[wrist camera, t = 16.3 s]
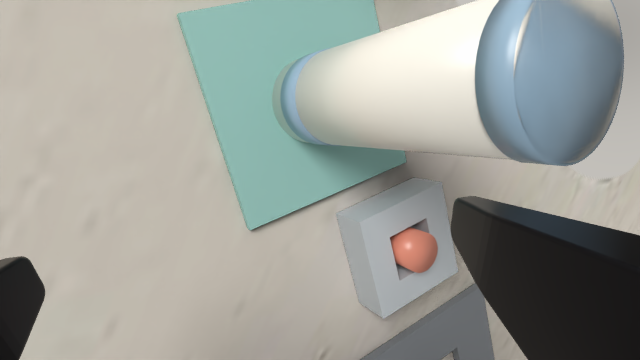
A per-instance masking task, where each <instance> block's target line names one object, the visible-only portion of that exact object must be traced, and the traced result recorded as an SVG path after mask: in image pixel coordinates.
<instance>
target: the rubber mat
mask: <svg viewBox="0 0 640 360" xmlns="http://www.w3.org/2000/svg"><path fill="white" fill-rule="evenodd" d="M177 17H178V20H179V23H180V26H181V29H182V32H183V35H184V38H185V41H186V44H187V47H188V50H189V53H190V56H191V59H192V62H193V65H194V68H195V71H196V75H197V78H198V81H199V84H200V87H201V90H202V93H203V96H204V99H205V102H206V105H207V108H208V111H209V114H210V117H211V120H212V123H213V126H214V129H215V132H216V135H217V138H218V141H219V144H220V147H221V150H222V153H223V156H224V159H225V162H226V165H227V168H228V171H229V174H230V177H231V180H232V183H233V186H234V189H235V192H236V195H237V198H238V201H239V204H240V207H241V210H242V213H243V216H244V219H245V222H246V225H247V228H248V229H249V230H252V229H254V228H257V227H259V226H261V225H263V224H266V223H268V222H270V221H273V220H275V219H277V218H279V217H282V216H284V215H286V214H289V213H291V212H293V211H295V210H298V209H300V208H302V207H305V206H307V205H309V204H312V203H314V202H316V201H318V200H321V199H323V198H325V197H328V196H330V195H332V194H334V193H337V192H339V191H341V190H344V189H346V188H348V187H350V186H353V185H355V184H357V183H360V182H362V181H364V180H367V179H369V178H371V177H373V176H376V175H378V174H380V173H383V172H385V171H387V170H389V169H392V168H394V167H396V166H399V165H401V164H403V163H405V162H406V157H405V152H404V151H402V150H390V149H378V148H366V147H354V146H329V145H318V144H312V143H306V142H301V141H298V140H296V139H294V138H292V137H291V136H290V135H288V134H287V133H286V132H285V131H284V130H283V129H282V127H281V126H280V125H279V123H278V121H277V119H276V117H275V114H274V110H273V105H272V92H273V87H274V84H275V81H276V79H277V77H278V75H279V73H280V72H281V71H282V70H283V68H284V67H285V66H287V65H288V64H289V63H291V62H292V61H294V60H297V59H299V58H302V57H303V56H306V55H308V54H311V53H314V52H317V51H320V50H323V49H327V48H333V47H336V46H339V45H342V44H345V43H348V42H351V41H355V40H358V39H361V38H364V37H367V36H370V35H373V34H376V33H379V32H380V30H379V25H378V20H377V16H376V11H375V6H374V1H373V0H251V1H246V2H240V3H234V4H228V5H223V6H217V7H211V8H206V9H200V10H194V11H189V12H183V13H178V15H177Z"/></svg>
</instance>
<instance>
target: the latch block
mask: <svg viewBox="0 0 640 360" xmlns="http://www.w3.org/2000/svg"><path fill="white" fill-rule="evenodd" d="M336 216H337V220H338V223H339V227H340V231H341V235H342V239H343V242H344V246H345V250H346V254H347V258H348V261H349V265H350V269H351V273H352V276H353V280H354V284H355V288H356V292H357V295H358V299H359V303H361V304H362V305H364V306H365V307H367V308H368V309H370V310H371V311H373V312H374V313H375V314H377V315H378V316H380V317H381V318H383V319H384V318H386V317H387V316H389V315H390V314H392V313H394V312H395V311H397V310H398V309H400V308H402V307H403V306H405V305H406V304H408V303H409V302H411V301H413V300H414V299H416V298H417V297H419V296H420V295H422V294H424V293H425V292H427V291H428V290H430V289H432V288H433V287H435V286H436V285H438V284H439V283H441V282H443V281H444V280H446V279H447V278H449V277H451V276H452V275H454V274H455V273H457V272H458V268H457V263H456V257H455V252H454V246H453V241H452V236H451V230H450V225H449V219H448V214H447V208H446V203H445V197H444V192H443V186H442V182H438V181H432V180H426V179H420V178H412V179H409V180H407V181H405V182H403V183H401V184H399V185H396V186H394V187H392V188H390V189H388V190H386V191H383V192H381V193H379V194H377V195H375V196H373V197H370V198H368V199H366V200H364V201H362V202H360V203H357V204H355V205H353V206H351V207H349V208H347V209H344V210H342V211H340V212H338V213H336ZM408 227H411V228H414V229H417V230H421V231H424V232H427V233H429V234H431V235H433V236H434V238H435V239H436V242H437V246H438V252H437V257H436V259H435V262H434V263H433V265H432V266H431V267H430V268H429V269H428V270H427V271H425V272H422V273H416V272H414V271H411V270H409V269H407V268H405V267H403V266H401V265H398V264H396V263H395V258H394V254H393V250H392V245H391V241H390V237H391V236H393V235H395V234H397V233H399V232H401V231H403V230H405V229H407V228H408Z"/></svg>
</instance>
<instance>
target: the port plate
mask: <svg viewBox="0 0 640 360" xmlns="http://www.w3.org/2000/svg"><path fill="white" fill-rule="evenodd" d="M452 351H453V355H454V360H494V354H493V348H492V342H491V336H490V330H489V324H488V318H487V312H486V306H485V300H484V296H483V294H482V292H481V291H480V289H479V288H478V286H477V284H476V283H475V284H473V285H472V286H470V287H469V288H467V289H466V290H464V291H463V292H461V293H460V294H458V295H457V296H455V297H454V298H452V299H451V300H449V301H448V302H446V303H445V304H443V305H442V306H440V307H439V308H437V309H436V310H434V311H433V312H431V313H430V314H428V315H427V316H425V317H424V318H422V319H421V320H419V321H418V322H416V323H415V324H413V325H412V326H410V327H409V328H407V329H406V330H404V331H403V332H401V333H400V334H398V335H397V336H395V337H394V338H392V339H391V340H389V341H388V342H386V343H385V344H383V345H382V346H380V347H379V348H377V349H376V350H374V351H373V352H371V353H370V354H368V355H367V356H365V357H364V358H362V359H361V360H441V359H442V358H444V357H445V356H446V355H448V354H449V353H450V352H452Z"/></svg>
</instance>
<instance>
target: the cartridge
mask: <svg viewBox="0 0 640 360" xmlns="http://www.w3.org/2000/svg"><path fill="white" fill-rule="evenodd" d="M623 69H624V50H623V39H622V32H621V27H620V22H619V19H618V15H617V12H616V10H615V7H614V4H613V2H612V0H477V1H474V2H471V3H468V4H465V5H462V6H459V7H456V8H453V9H450V10H447V11H443V12H440V13H437V14H434V15H431V16H428V17H425V18H422V19H419V20H416V21H413V22H410V23H407V24H404V25H401V26H397V27H394V28H391V29H388V30H385V31H382V32H379V33H376V34H373V35H370V36H367V37H364V38H361V39H358V40H355V41H351V42H348V43H345V44H342V45H339V46H336V47H333V48H327V49H323V50H320V51H317V52H314V53H311V54H308V55H306V56H303V57H302V58H299V59H297V60H294V61H292V62H291V63H289V64H288V65H287V66H285V67H284V68H283V70H282V71H281V72H280V73H279V75H278V77H277V79H276V81H275V84H274V87H273V92H272V105H273V110H274V114H275V117H276V119H277V121H278V123H279V125H280V126H281V127H282V129H283V130H284V131H285V132H286V133H287V134H288V135H290V136H291V137H292V138H294V139H296V140H298V141H301V142H306V143H312V144H318V145H329V146H354V147H366V148H378V149H390V150H402V151H414V152H426V153H438V154H450V155H462V156H474V157H486V158H498V159H510V160H515V161H519V162H524V163H536V164H547V165H559V166H568V165H573V164H576V163H578V162H580V161H582V160H583V159H585V158H586V157H587V156H589V155H590V154H591V153H592V152H593V151H594V150H595V149H596V148H597V147H598V145H599V144H600V143H601V141H602V140H603V138H604V136H605V135H606V133H607V131H608V129H609V127H610V125H611V123H612V120H613V118H614V115H615V112H616V109H617V106H618V102H619V98H620V93H621V88H622V81H623Z"/></svg>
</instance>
